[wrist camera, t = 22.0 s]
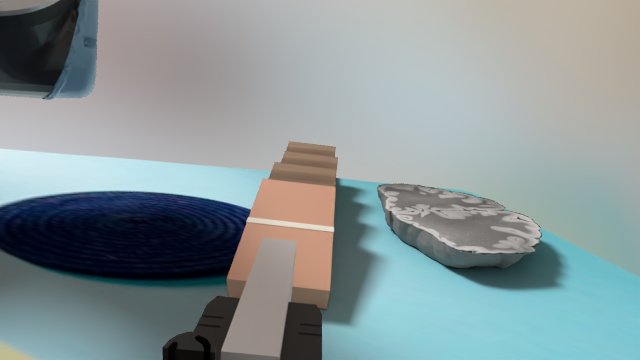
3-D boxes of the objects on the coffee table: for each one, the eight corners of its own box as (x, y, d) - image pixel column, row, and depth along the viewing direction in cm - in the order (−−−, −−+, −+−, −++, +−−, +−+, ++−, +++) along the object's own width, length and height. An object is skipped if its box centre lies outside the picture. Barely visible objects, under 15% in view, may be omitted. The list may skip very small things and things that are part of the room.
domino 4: (331, 216, 36) (338, 157, 46) (264, 207, 36) (284, 150, 46) (329, 231, 37) (336, 170, 47) (264, 222, 37) (284, 164, 47)
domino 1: (329, 244, 30) (336, 169, 40) (246, 234, 30) (274, 161, 40) (326, 261, 31) (334, 184, 41) (247, 251, 31) (274, 176, 41)
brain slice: (584, 275, 34) (594, 248, 34) (438, 289, 29) (445, 257, 28) (456, 203, 52) (461, 184, 51) (351, 203, 47) (354, 182, 46)
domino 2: (331, 290, 23) (336, 186, 33) (225, 278, 23) (262, 178, 33) (327, 309, 25) (333, 203, 34) (227, 297, 25) (262, 195, 34)
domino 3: (331, 194, 42) (336, 146, 52) (273, 187, 43) (289, 141, 52) (329, 208, 44) (334, 158, 53) (273, 201, 44) (288, 153, 54)
